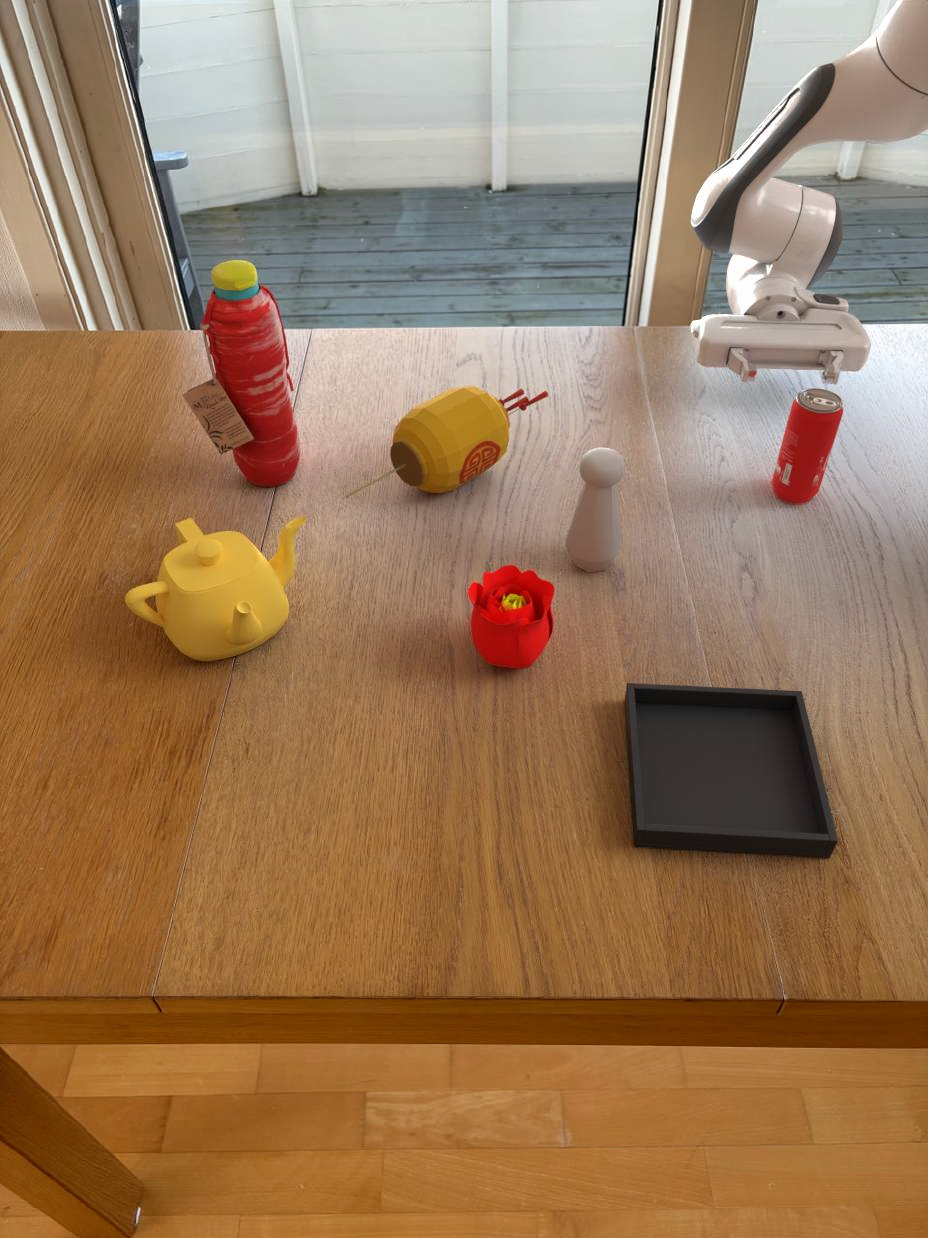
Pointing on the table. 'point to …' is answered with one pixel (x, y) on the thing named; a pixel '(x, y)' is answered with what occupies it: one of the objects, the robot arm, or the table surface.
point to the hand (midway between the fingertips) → (790, 377)
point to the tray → (725, 771)
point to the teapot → (219, 592)
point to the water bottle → (247, 378)
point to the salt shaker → (597, 511)
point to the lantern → (452, 438)
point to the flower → (511, 616)
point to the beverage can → (806, 445)
